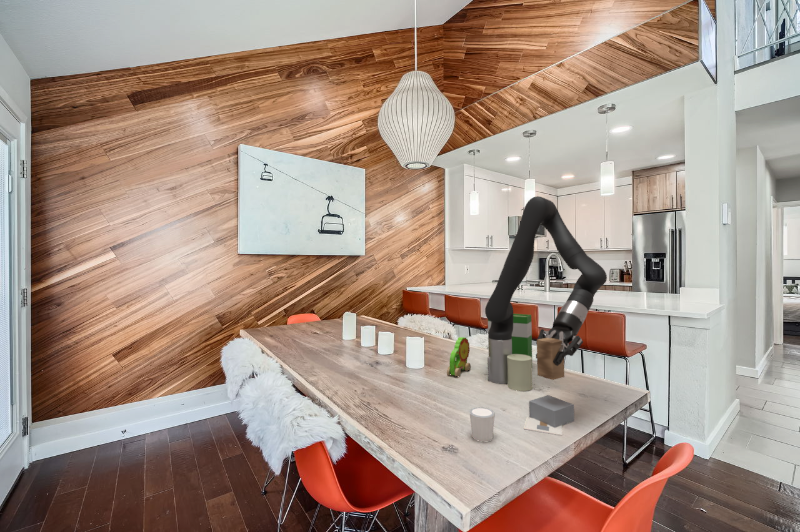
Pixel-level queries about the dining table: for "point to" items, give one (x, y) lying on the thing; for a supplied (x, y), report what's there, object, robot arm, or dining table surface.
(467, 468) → the dining table surface
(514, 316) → the green banded block
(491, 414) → the shot glass
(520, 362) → the can
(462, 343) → the toy lion
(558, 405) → the base block
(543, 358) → the walnut brick
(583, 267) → the robot arm
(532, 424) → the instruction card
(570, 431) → the dining table surface
